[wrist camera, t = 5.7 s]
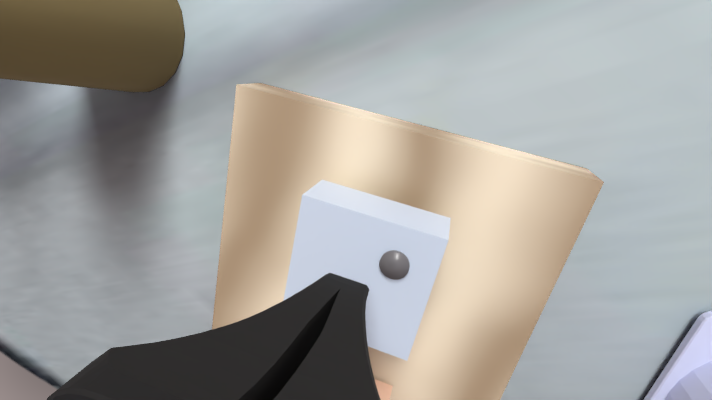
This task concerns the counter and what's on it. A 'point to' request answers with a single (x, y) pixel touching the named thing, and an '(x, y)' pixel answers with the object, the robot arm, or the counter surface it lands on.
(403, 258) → the tile two
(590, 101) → the counter surface
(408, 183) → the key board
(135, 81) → the cork
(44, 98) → the counter surface
